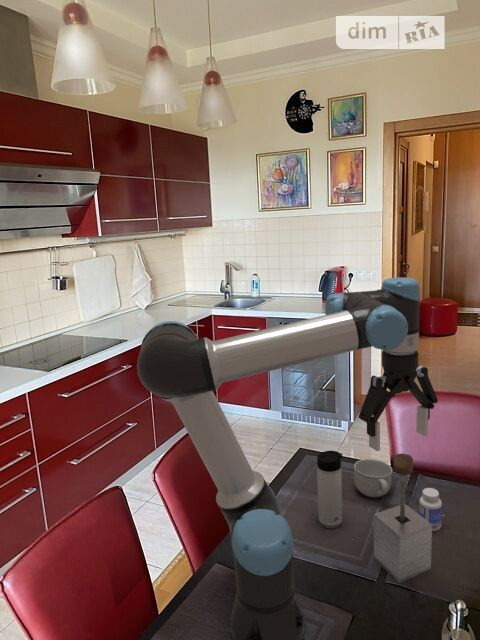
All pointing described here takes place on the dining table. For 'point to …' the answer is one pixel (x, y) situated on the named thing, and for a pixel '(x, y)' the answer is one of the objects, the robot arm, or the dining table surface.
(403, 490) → the plunger
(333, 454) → the travel mug
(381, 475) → the teacup
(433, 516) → the pill bottle
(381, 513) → the grey block with hole
